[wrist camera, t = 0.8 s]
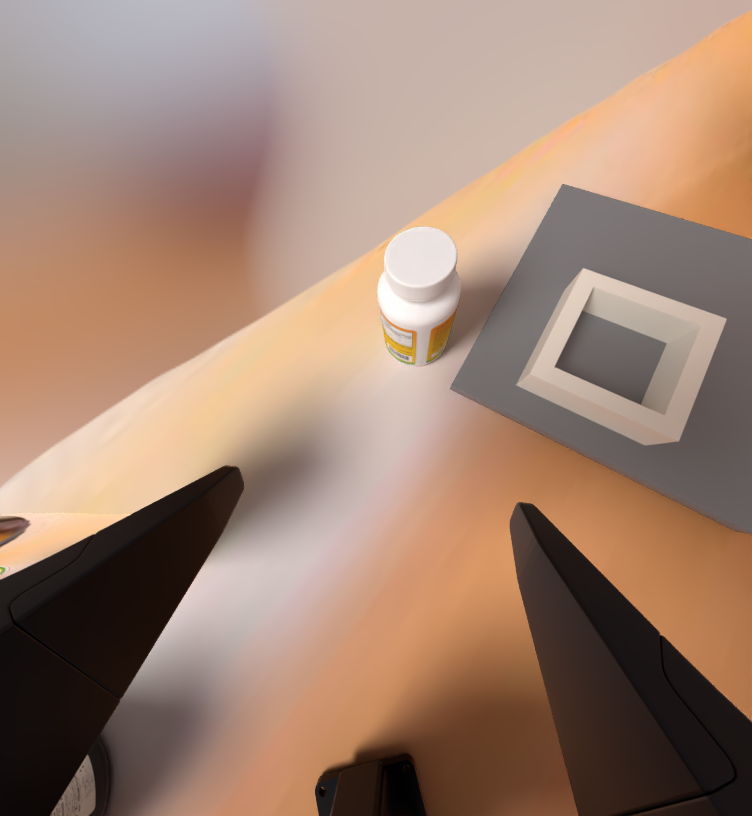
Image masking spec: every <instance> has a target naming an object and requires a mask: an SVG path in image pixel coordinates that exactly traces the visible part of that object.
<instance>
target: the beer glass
mask: <svg viewBox="0 0 752 816" xmlns="http://www.w3.org/2000/svg"><path fill="white" fill-rule="evenodd" d="M129 515H131V514H123V515H110V514H84V513H18V514H5V515H0V580H1V579H3V578H5V577H7V576H9V575H11V574H13V573H16V572H18V571H20V570H22V569H24V568H26V567H28V566H30V565H32V564H35V563H37V562H39V561H41V560H43V559H45V558H47V557H49V556H51V555H53V554H55V553H57V552H59V551H61V550H63V549H65V548H67V547H69V546H71V545H73V544H75V543H77V542H79V541H81V540H83V539H85V538H86V537H88V536H90V535H92V534H96V533H97V532H98V531H100V530H102V529H104V528H106V527H108V526H110V525H112V524H113V523H115V522H117V521H119V520H121V519H123V518H125V517H127V516H129Z"/></svg>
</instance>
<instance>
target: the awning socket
mask: <svg viewBox="0 0 752 816" xmlns="http://www.w3.org/2000/svg"><path fill="white" fill-rule="evenodd" d="M450 389H451V390H453V391H455V392H457V393H459V394H461V395H463V396H465V397H467V398H469V399H471V400H473V401H475V402H477V403H479V404H481V405H483V406H485V407H487V408H489V409H491V410H493V411H495V412H497V413H499V414H501V415H503V416H505V417H507V418H509V419H511V420H513V421H515V422H517V423H519V424H522V425H524V426H526V427H528V428H530V429H532V430H534V431H536V432H538V433H540V434H542V435H544V436H546V437H548V438H550V439H552V440H554V441H556V442H558V443H560V444H562V445H564V446H566V447H568V448H570V449H572V450H574V451H576V452H578V453H580V454H582V455H584V456H586V457H588V458H590V459H592V460H594V461H596V462H598V463H600V464H602V465H604V466H606V467H608V468H610V469H612V470H614V471H616V472H618V473H620V474H622V475H624V476H626V477H628V478H630V479H632V480H634V481H636V482H638V483H640V484H642V485H644V486H646V487H648V488H650V489H652V490H654V491H656V492H658V493H660V494H662V495H664V496H666V497H668V498H670V499H672V500H674V501H676V502H678V503H680V504H682V505H684V506H686V507H688V508H690V509H692V510H695V511H697V512H699V513H701V514H703V515H705V516H707V517H709V518H711V519H713V520H715V521H717V522H719V523H721V524H723V525H725V526H727V527H729V528H731V529H733V530H735V531H737V532H743V533H749V534H752V239H749V238H746V237H742V236H739V235H736V234H732V233H729V232H725V231H722V230H718V229H715V228H712V227H708V226H705V225H701V224H698V223H695V222H691V221H688V220H684V219H681V218H678V217H674V216H671V215H667V214H664V213H660V212H657V211H654V210H650V209H647V208H643V207H640V206H637V205H633V204H630V203H626V202H623V201H619V200H616V199H613V198H609V197H606V196H602V195H599V194H596V193H592V192H589V191H585V190H582V189H579V188H575V187H572V186H568V185H565V184H562V186H561V188H560V190H559V191H558V193H557V195H556V197H555V199H554V200H553V202H552V204H551V206H550V208H549V210H548V211H547V213H546V215H545V217H544V219H543V220H542V222H541V224H540V226H539V228H538V229H537V231H536V233H535V235H534V237H533V239H532V240H531V242H530V244H529V246H528V248H527V249H526V251H525V253H524V255H523V257H522V258H521V260H520V262H519V264H518V266H517V268H516V269H515V271H514V273H513V275H512V277H511V278H510V280H509V282H508V284H507V286H506V287H505V289H504V291H503V293H502V295H501V297H500V298H499V300H498V302H497V304H496V306H495V307H494V309H493V311H492V313H491V315H490V316H489V318H488V320H487V322H486V324H485V326H484V327H483V329H482V331H481V333H480V335H479V336H478V338H477V340H476V342H475V344H474V345H473V347H472V349H471V351H470V353H469V355H468V356H467V358H466V360H465V362H464V364H463V365H462V367H461V369H460V371H459V373H458V374H457V376H456V378H455V380H454V382H453V384H452V385H451V387H450Z"/></svg>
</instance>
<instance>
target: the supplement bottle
mask: <svg viewBox="0 0 752 816" xmlns="http://www.w3.org/2000/svg"><path fill="white" fill-rule="evenodd" d="M456 263H457V249H456V245H455V243H454V241H453V240H452V239H451V237H450V236H448V235H447V234H446V233H445V232H443V231H441V230H439V229H437V228H433V227H427V226H420V227H414V228H410V229H407V230H405V231H403V232H401V233H400V234H398V235H397V236H396V237H395V238H394V239H393V240H392V241H391V242H390V243H389V245H388V247H387V249H386V252H385V257H384V264H385V270H384V271H383V273H382V275H381V277H380V280H379V283H378V289H377V296H378V304H379V309H380V314H381V320H382V325H383V331H384V337H385V342H386V346H387V349H388V351H389V353H390V354H391V355H392V357H393V358H394V359H395V360H397V361H398V362H400V363H402V364H404V365H407V366H415V367H416V366H423V365H427V364H429V363H431V362H433V361H434V360H436V359H437V358H438V357H439V356H440V355H441V354H442V352H443V351H444V349H445V347H446V344H447V341H448V337H449V334H450V330H451V327H452V324H453V320H454V317H455V313H456V310H457V307H458V303H459V299H460V294H461V283H460V279H459V276H458V273H457V272H456V270H455V268H456Z"/></svg>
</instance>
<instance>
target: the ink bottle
mask: <svg viewBox="0 0 752 816" xmlns="http://www.w3.org/2000/svg"><path fill="white" fill-rule="evenodd" d="M108 788H109V766H108V760H107V756H106V753H105V750H104V747H103V745H102V743H101V742H100V740H99V738H97V740H96V741H95V743H94V745H93V746H92V748H91V750H90V751H89V753H88V755H87V756H86V758H85V759H84V761H83V763H82V764H81V766H80V768H79V769H78V771H77V773H76V774H75V776H74V777H73V779H72V781H71V782H70V784H69V786H68V787H67V789H66V791H65V792H64V794H63V795H62V797H61V799H60V800H59V802H58V804H57V805H56V807H55V809H54V810H53V812H52V814H51V815H50V816H103V814H104V810H105V806H106V802H107V796H108Z"/></svg>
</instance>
